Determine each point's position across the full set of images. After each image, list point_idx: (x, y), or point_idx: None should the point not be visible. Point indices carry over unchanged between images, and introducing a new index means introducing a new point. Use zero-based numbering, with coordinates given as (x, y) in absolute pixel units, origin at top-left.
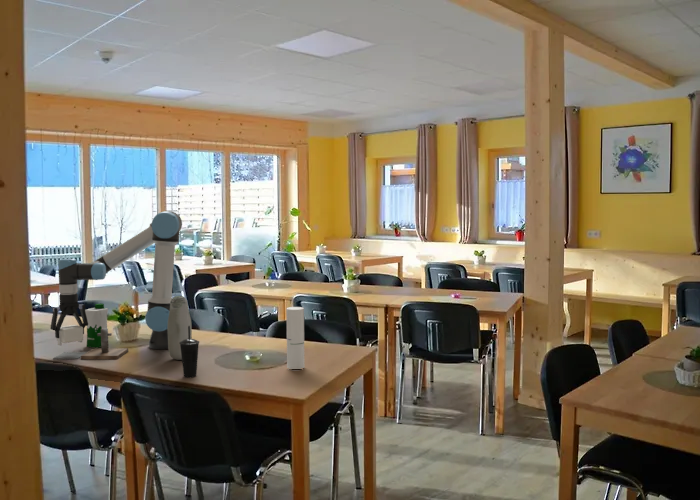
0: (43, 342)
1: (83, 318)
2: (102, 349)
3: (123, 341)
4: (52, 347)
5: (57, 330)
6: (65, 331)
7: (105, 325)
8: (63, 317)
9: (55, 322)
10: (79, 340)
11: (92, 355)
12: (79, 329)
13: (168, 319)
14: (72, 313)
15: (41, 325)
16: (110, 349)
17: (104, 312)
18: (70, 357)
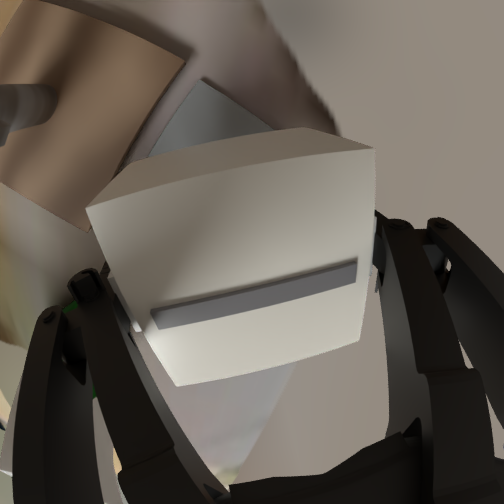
0: (261, 419)
1: (64, 395)
2: (44, 89)
3: (13, 342)
4: (254, 373)
5: (398, 222)
6: (341, 144)
7: (19, 386)
8: (436, 356)
9: (480, 267)
10: (164, 153)
11: (120, 39)
12: (140, 182)
13: None
14: (261, 490)
15: (230, 481)
16: (13, 163)
17: (6, 452)
18: (236, 117)
